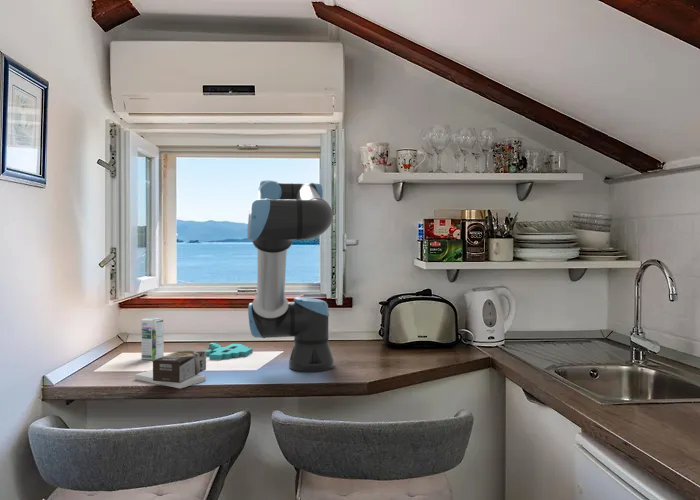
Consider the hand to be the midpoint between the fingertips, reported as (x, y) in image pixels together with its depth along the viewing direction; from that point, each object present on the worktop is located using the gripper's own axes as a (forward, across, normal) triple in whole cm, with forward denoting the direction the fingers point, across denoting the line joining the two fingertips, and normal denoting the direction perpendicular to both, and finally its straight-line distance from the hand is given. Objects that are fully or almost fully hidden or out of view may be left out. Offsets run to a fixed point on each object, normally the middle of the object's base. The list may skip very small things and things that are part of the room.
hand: (267, 286), depth 198 cm
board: (+28, -33, +22) cm, 49 cm away
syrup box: (+27, -5, +41) cm, 49 cm away
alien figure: (+26, +4, +17) cm, 32 cm away
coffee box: (+23, -26, +18) cm, 38 cm away
